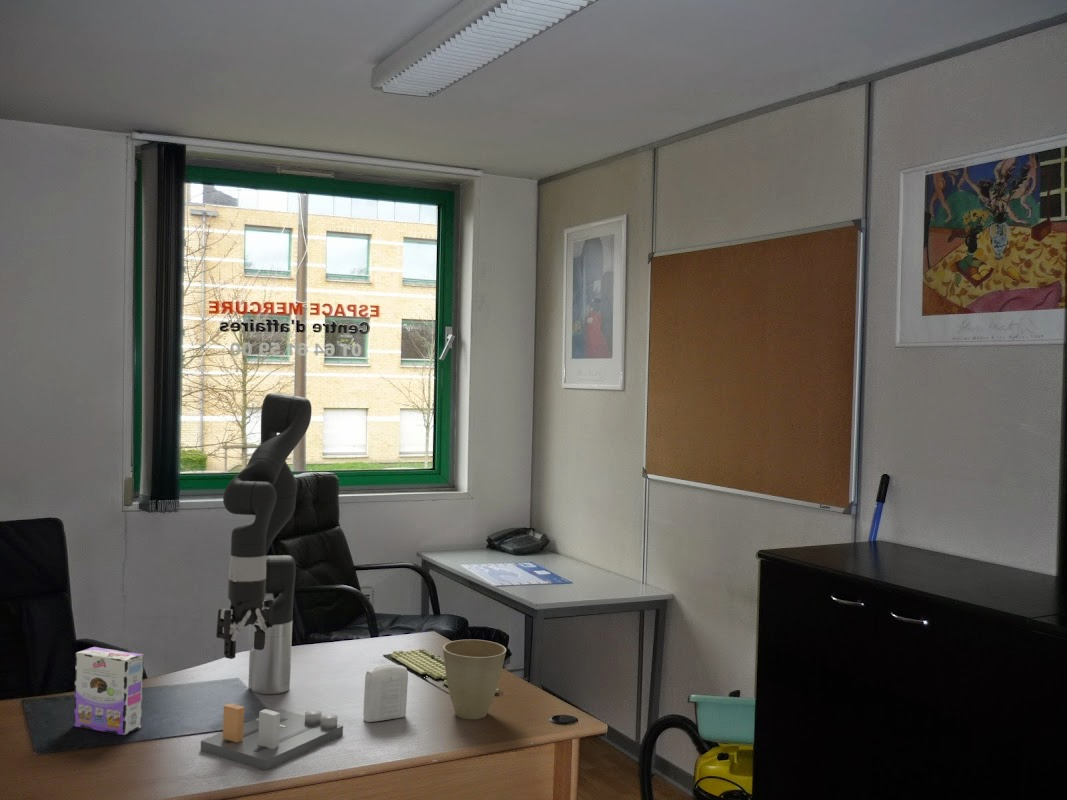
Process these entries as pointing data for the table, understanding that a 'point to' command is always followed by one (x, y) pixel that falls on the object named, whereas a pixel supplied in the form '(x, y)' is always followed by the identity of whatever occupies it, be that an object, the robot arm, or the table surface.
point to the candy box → (108, 690)
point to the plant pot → (473, 675)
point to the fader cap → (233, 722)
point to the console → (276, 737)
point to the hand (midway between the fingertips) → (244, 653)
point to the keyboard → (422, 664)
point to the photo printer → (385, 693)
